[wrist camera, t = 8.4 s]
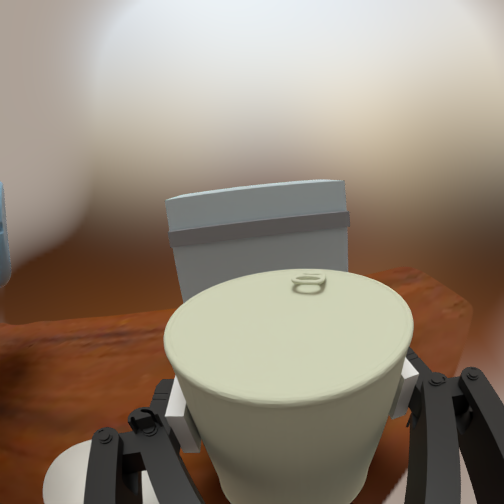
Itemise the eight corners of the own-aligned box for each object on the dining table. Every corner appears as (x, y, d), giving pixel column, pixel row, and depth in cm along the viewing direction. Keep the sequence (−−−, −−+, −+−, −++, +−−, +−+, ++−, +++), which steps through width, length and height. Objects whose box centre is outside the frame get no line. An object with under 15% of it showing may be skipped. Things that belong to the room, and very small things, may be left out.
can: (378, 425, 15) (408, 261, 12) (344, 540, 7) (427, 412, 4) (258, 405, 19) (237, 256, 16) (191, 494, 11) (104, 338, 8)
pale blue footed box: (371, 398, 18) (388, 183, 14) (192, 425, 18) (132, 211, 13) (325, 318, 31) (319, 179, 27) (207, 334, 31) (182, 194, 27)
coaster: (29, 508, 6) (24, 504, 6) (82, 430, 16) (79, 425, 16) (148, 574, 5) (143, 573, 5) (190, 459, 14) (187, 455, 14)
